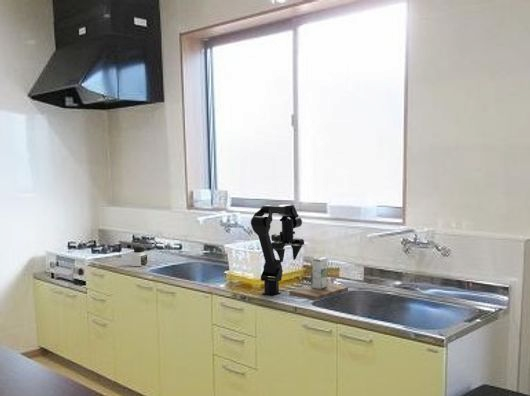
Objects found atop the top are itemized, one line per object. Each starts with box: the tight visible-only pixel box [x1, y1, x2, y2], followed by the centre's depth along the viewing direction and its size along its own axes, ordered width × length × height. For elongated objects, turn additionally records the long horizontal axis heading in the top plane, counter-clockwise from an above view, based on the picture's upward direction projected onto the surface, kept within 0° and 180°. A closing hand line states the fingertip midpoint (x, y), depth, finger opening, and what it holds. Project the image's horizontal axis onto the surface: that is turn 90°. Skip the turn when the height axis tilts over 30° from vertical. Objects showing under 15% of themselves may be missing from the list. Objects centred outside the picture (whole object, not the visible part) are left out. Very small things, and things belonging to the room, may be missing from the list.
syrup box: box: [310, 256, 328, 289], centre depth 255 cm, size 6×6×14 cm
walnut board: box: [289, 282, 349, 301], centre depth 253 cm, size 24×16×2 cm, turn 134°
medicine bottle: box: [130, 245, 148, 267], centre depth 329 cm, size 7×7×12 cm
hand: (288, 260), depth 265 cm, fingers open, 9 cm apart
